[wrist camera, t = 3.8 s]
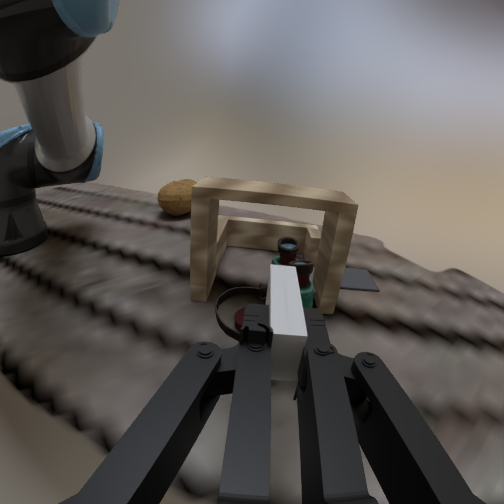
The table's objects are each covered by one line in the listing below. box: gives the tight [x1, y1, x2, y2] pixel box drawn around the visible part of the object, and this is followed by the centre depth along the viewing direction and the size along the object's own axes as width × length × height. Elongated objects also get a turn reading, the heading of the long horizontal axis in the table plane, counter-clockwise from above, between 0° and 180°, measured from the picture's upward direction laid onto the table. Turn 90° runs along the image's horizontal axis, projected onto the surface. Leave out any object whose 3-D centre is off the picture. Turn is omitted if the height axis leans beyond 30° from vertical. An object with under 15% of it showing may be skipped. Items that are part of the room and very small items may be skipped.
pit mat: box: [340, 268, 379, 292], centre depth 45 cm, size 8×7×1 cm
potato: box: [158, 179, 197, 216], centre depth 68 cm, size 10×14×8 cm
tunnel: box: [190, 177, 358, 314], centre depth 43 cm, size 18×21×14 cm
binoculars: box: [215, 237, 316, 342], centre depth 28 cm, size 9×11×10 cm
